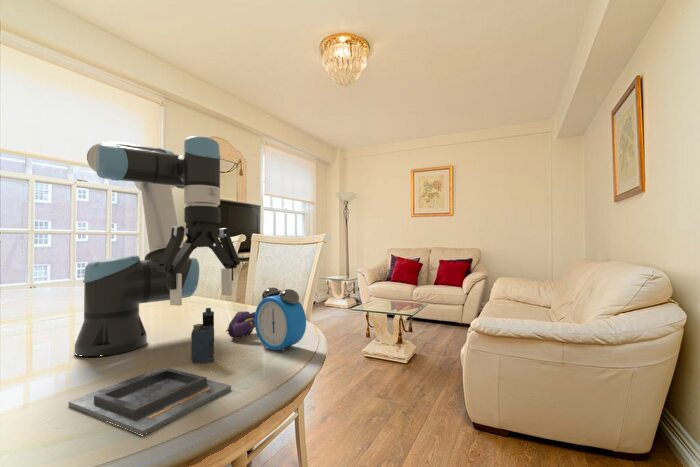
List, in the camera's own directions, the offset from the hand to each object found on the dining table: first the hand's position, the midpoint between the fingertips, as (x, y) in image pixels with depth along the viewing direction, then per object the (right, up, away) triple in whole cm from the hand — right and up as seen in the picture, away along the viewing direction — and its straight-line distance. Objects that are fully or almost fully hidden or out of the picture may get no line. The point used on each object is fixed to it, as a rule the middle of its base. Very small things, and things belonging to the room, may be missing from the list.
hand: (203, 299), depth 75 cm
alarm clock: (+16, -14, +9) cm, 23 cm away
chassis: (-1, -14, -18) cm, 22 cm away
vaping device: (0, -14, 0) cm, 14 cm away
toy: (+3, -15, +21) cm, 25 cm away
